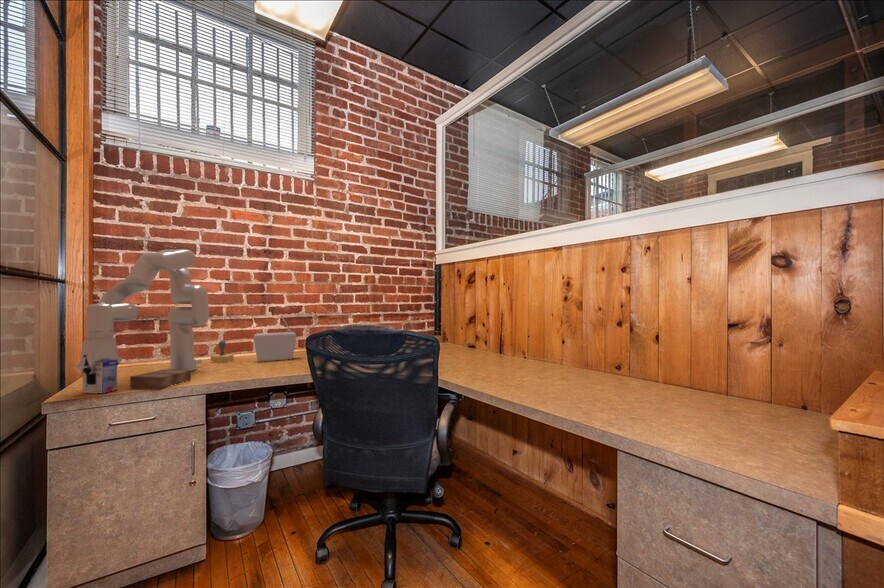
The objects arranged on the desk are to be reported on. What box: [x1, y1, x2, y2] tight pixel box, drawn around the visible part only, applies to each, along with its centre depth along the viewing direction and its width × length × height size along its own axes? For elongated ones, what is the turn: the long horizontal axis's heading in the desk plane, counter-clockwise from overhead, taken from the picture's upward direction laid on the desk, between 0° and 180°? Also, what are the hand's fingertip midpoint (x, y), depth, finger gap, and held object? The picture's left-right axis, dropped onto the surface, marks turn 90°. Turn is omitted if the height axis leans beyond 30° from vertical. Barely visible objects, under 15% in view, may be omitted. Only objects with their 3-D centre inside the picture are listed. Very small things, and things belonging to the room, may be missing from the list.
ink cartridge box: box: [82, 360, 118, 394], centre depth 136 cm, size 10×6×14 cm, turn 79°
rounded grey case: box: [253, 316, 297, 363], centre depth 203 cm, size 22×8×25 cm, turn 116°
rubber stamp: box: [210, 339, 235, 363], centre depth 199 cm, size 10×6×12 cm, turn 86°
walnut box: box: [129, 369, 192, 390], centre depth 147 cm, size 14×14×5 cm
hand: (100, 381), depth 136 cm, fingers closed on ink cartridge box, 5 cm apart
